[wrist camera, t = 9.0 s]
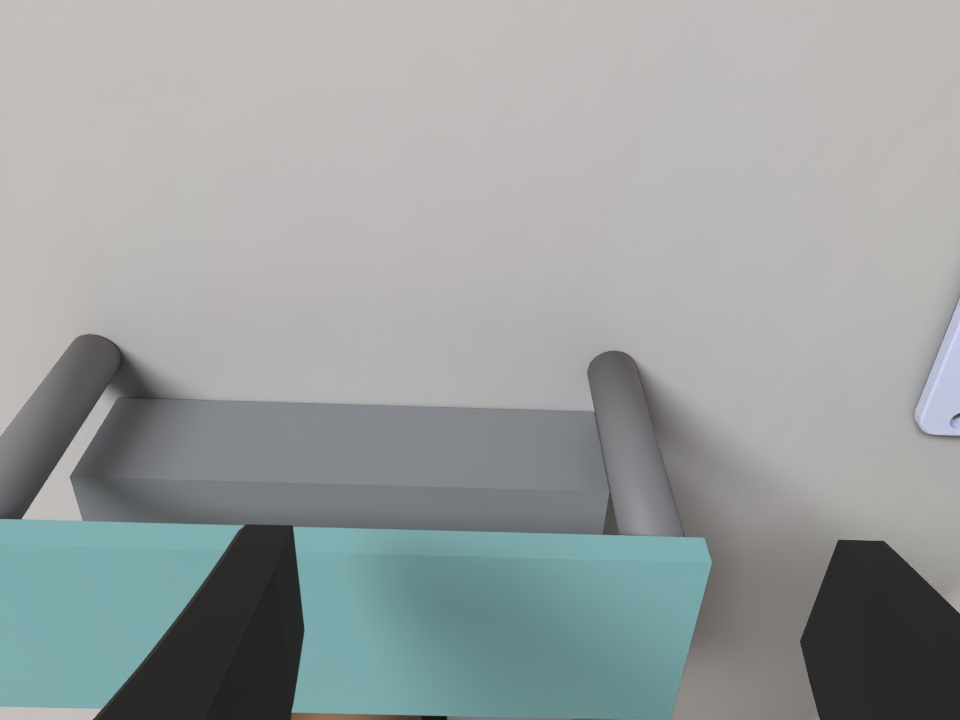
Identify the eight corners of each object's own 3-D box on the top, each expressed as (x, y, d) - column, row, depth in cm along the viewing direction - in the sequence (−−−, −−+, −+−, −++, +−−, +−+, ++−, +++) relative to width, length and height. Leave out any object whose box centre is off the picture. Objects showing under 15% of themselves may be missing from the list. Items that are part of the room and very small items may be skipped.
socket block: (594, 411, 21) (609, 491, 19) (553, 702, 28) (561, 790, 25) (118, 397, 21) (69, 476, 19) (189, 694, 28) (160, 782, 25)
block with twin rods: (644, 346, 20) (712, 562, 15) (620, 487, 23) (669, 720, 17) (59, 328, 20) (-114, 541, 14) (98, 472, 22) (-36, 706, 17)
